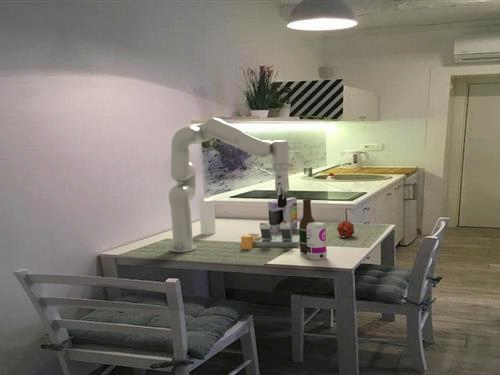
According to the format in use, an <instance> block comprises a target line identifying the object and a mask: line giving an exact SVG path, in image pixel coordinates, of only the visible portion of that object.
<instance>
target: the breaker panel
mask: <svg viewBox="0 0 500 375" xmlns="http://www.w3.org/2000/svg"><path fill="white" fill-rule="evenodd" d="M245 235H253V247H258V248H259V247H261V248H263V247H264V248H299V247H300V239H299V235H292V239H282V234H281V235H276V234H273V233H271V235H272V236H271V237H272V239H262V235H261V233H246V234H245ZM240 246H241V247H242V244H241V243H240ZM298 246H299V247H298Z"/></svg>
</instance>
